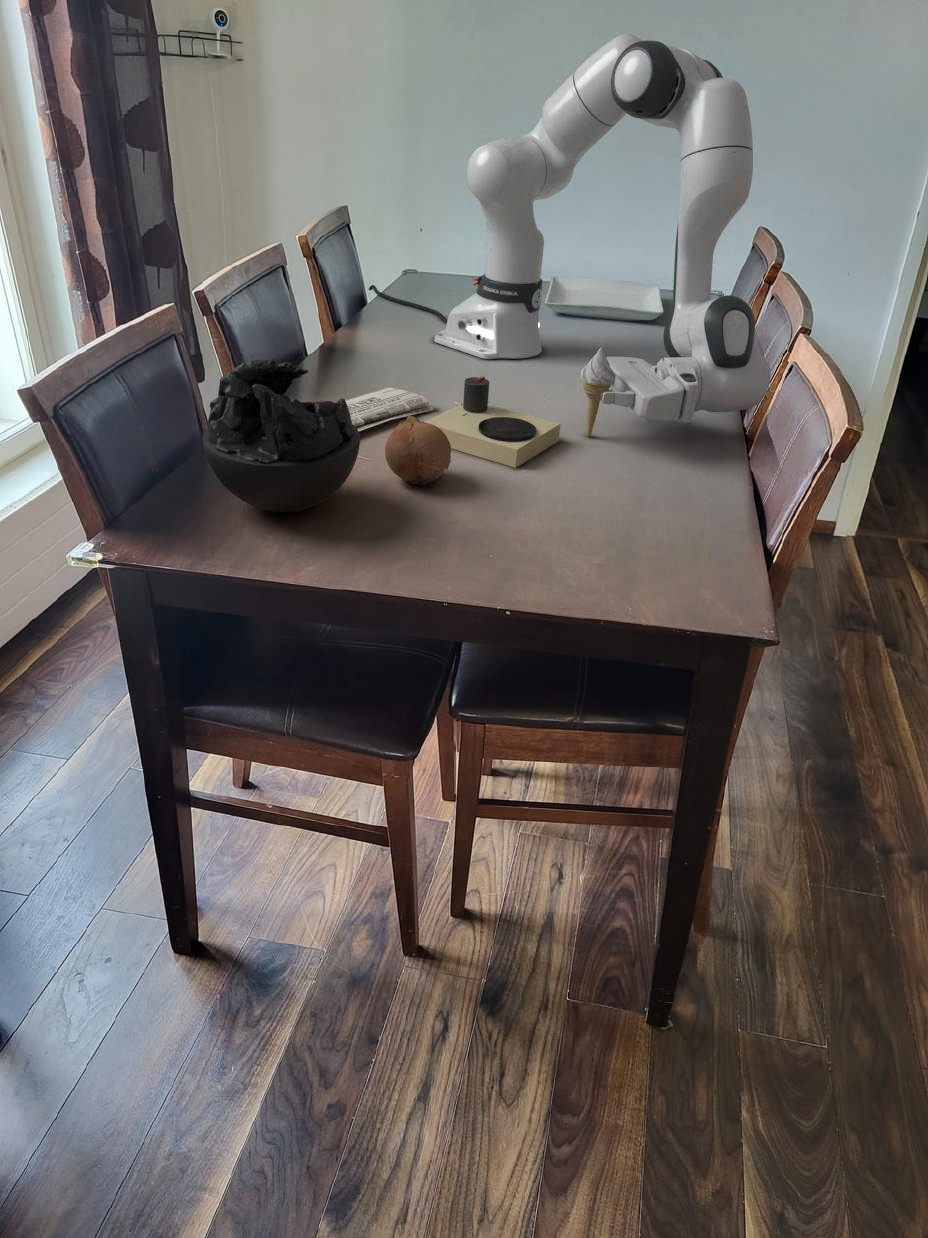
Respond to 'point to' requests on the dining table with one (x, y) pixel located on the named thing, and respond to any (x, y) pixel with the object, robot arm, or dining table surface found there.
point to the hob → (469, 439)
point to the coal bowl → (277, 439)
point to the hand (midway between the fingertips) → (592, 386)
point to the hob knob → (476, 394)
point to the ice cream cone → (595, 384)
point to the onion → (418, 451)
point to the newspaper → (385, 407)
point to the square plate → (604, 298)
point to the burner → (507, 429)
